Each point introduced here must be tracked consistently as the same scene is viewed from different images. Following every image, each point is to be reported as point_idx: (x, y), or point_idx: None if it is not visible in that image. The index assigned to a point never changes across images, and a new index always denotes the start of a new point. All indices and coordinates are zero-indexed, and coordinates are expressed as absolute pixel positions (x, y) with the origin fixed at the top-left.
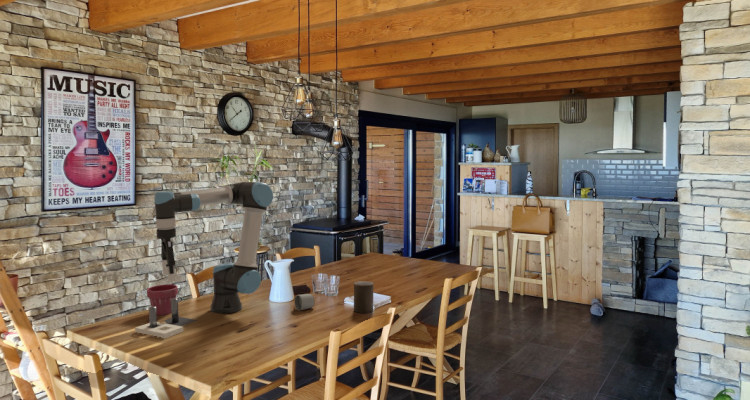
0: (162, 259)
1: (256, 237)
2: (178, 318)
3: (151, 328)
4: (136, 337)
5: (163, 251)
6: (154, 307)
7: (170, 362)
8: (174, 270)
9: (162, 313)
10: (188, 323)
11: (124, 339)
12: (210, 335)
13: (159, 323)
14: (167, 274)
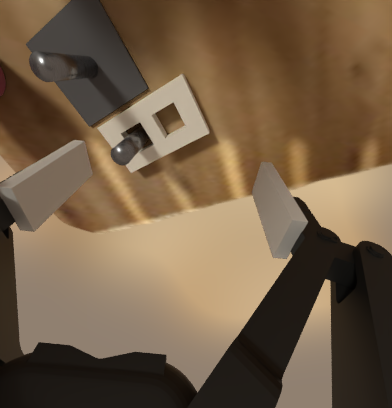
0: (12, 232)
1: None
2: (86, 57)
3: (153, 147)
4: (161, 171)
5: (17, 322)
6: (126, 152)
7: (347, 156)
8: (292, 198)
9: (1, 80)
10: (115, 32)
11: (162, 189)
12: (260, 2)
13: (121, 121)
14: (87, 155)
